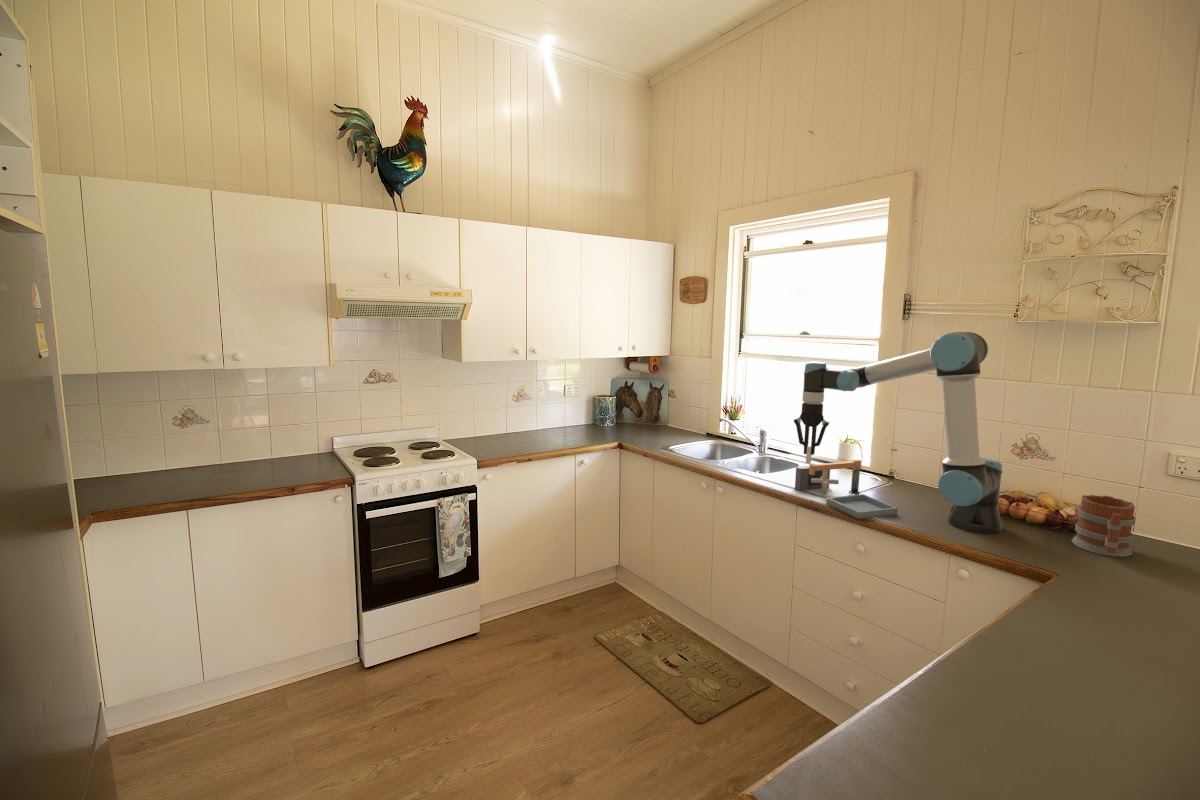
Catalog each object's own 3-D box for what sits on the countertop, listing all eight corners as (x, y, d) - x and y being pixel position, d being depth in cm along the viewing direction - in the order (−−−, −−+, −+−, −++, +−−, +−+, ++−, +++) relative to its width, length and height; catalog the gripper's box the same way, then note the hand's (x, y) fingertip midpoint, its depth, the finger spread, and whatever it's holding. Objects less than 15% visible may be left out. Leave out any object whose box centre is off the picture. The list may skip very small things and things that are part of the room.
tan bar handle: (862, 471, 222) (863, 461, 222) (813, 475, 216) (813, 465, 215) (856, 469, 225) (857, 459, 225) (807, 473, 219) (808, 462, 218)
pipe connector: (839, 498, 219) (841, 473, 217) (812, 496, 221) (814, 471, 219) (834, 490, 229) (836, 466, 227) (808, 489, 230) (810, 464, 229)
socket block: (829, 488, 232) (830, 466, 231) (799, 490, 228) (800, 468, 227) (824, 485, 235) (825, 464, 234) (794, 488, 231) (796, 466, 230)
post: (862, 495, 223) (864, 470, 222) (853, 495, 222) (855, 470, 221) (854, 492, 227) (856, 467, 226) (846, 492, 226) (848, 468, 225)
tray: (897, 515, 201) (897, 508, 201) (858, 519, 196) (858, 512, 196) (862, 500, 217) (863, 494, 216) (826, 504, 212) (826, 497, 211)
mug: (1125, 545, 176) (1132, 498, 174) (1143, 568, 160) (1151, 516, 157) (1067, 536, 183) (1073, 490, 181) (1078, 557, 167) (1085, 507, 165)
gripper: (832, 402, 218) (827, 462, 222) (796, 399, 224) (792, 458, 228) (829, 405, 211) (825, 467, 215) (793, 402, 217) (789, 462, 221)
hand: (808, 462), depth 221 cm, fingers closed
